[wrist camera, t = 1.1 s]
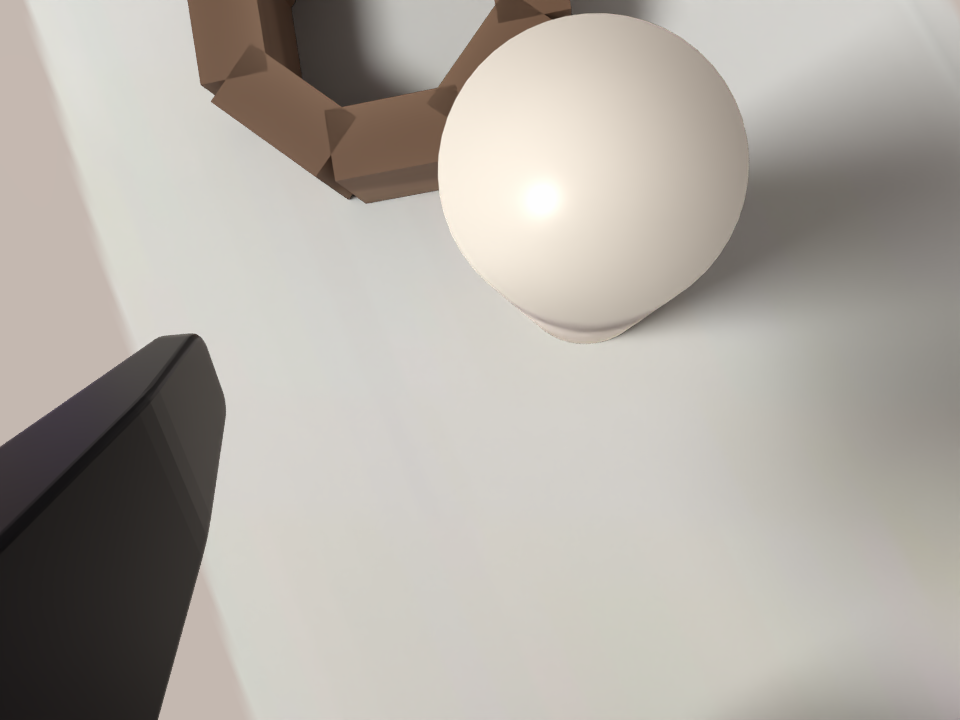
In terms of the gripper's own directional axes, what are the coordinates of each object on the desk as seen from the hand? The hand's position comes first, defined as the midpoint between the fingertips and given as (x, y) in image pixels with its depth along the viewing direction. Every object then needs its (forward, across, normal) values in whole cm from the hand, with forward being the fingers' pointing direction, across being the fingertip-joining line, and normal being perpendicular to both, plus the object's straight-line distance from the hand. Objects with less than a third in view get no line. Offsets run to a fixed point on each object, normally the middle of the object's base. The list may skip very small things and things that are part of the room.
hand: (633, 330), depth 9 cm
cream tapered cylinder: (+12, 0, +7) cm, 14 cm away
